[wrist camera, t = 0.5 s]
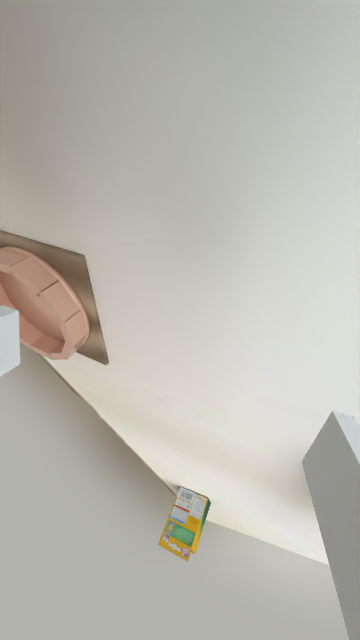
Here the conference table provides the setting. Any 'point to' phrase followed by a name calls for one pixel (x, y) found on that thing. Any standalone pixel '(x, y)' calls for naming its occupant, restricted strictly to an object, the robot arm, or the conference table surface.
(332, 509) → the robot arm
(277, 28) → the conference table surface
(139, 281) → the conference table surface
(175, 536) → the crayon box
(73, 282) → the cork mat
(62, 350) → the bowl
